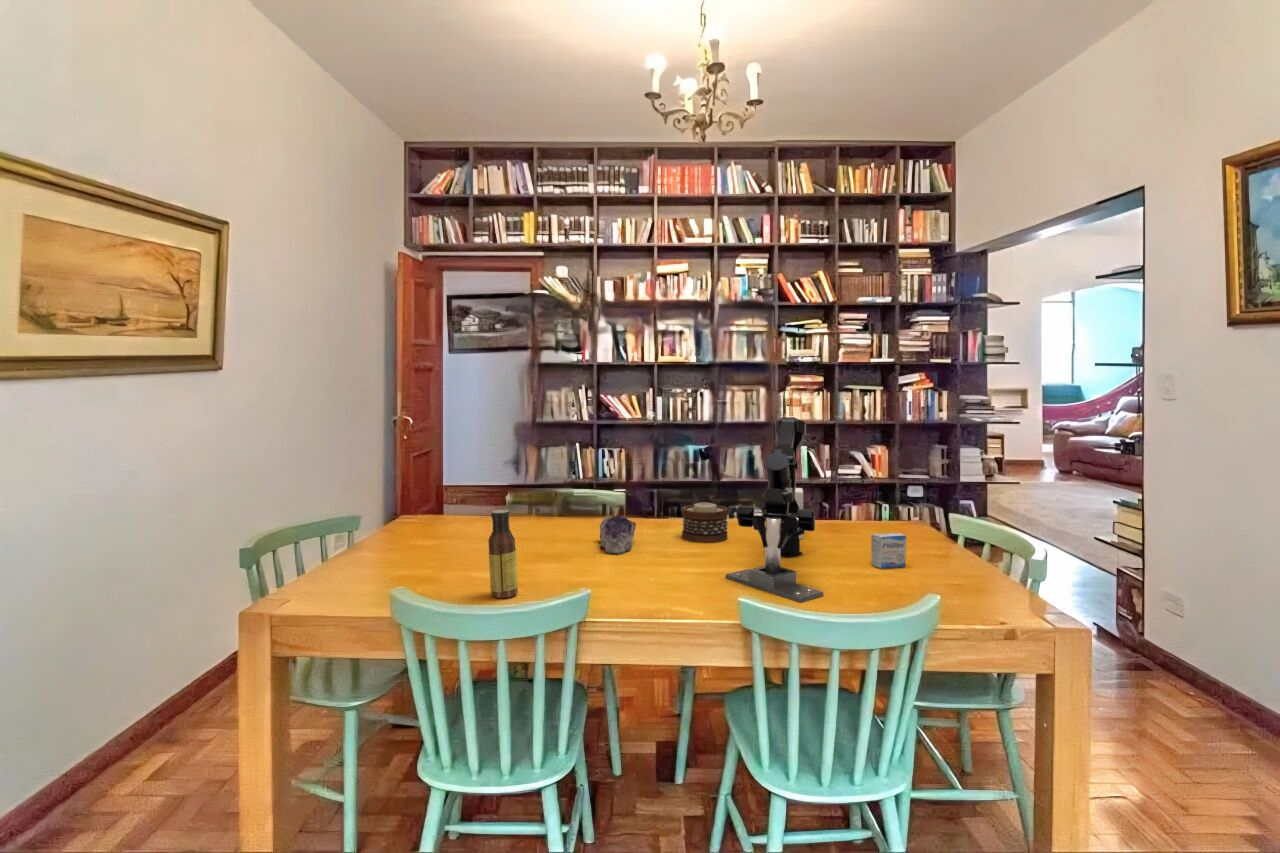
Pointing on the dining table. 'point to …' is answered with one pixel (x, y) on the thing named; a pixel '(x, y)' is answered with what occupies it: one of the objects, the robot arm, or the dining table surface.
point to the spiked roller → (704, 523)
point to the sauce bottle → (502, 557)
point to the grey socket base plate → (775, 583)
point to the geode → (616, 535)
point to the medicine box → (888, 550)
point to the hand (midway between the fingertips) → (772, 547)
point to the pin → (773, 545)
